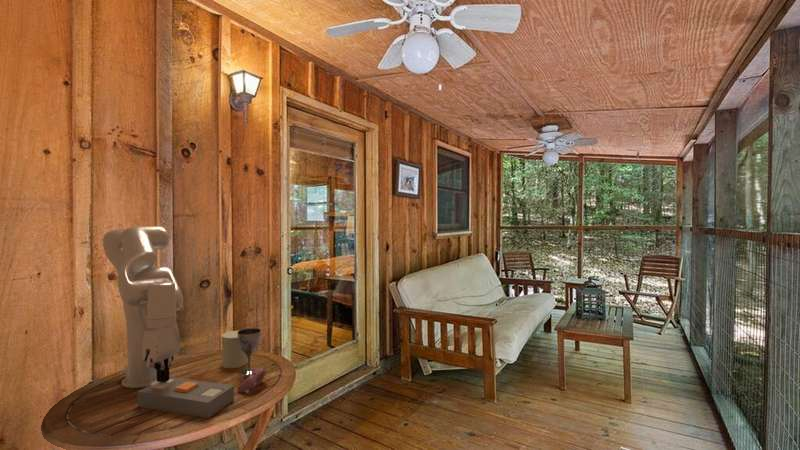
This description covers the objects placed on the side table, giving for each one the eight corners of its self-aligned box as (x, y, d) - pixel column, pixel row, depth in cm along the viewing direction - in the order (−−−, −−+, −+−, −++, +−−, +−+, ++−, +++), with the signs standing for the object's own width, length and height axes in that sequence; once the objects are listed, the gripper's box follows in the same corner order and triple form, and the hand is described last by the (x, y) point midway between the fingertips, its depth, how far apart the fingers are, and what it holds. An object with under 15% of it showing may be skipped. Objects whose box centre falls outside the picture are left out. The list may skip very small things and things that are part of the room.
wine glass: (237, 377, 135) (237, 335, 135) (237, 369, 143) (237, 329, 142) (261, 374, 139) (261, 333, 138) (260, 366, 146) (260, 326, 145)
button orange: (174, 397, 116) (174, 387, 116) (186, 390, 120) (186, 381, 120) (187, 399, 115) (187, 389, 114) (198, 392, 119) (198, 383, 119)
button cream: (150, 393, 118) (150, 384, 118) (162, 387, 122) (162, 378, 122) (162, 395, 117) (162, 385, 117) (174, 389, 121) (174, 379, 121)
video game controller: (246, 398, 124) (255, 380, 123) (235, 391, 124) (244, 373, 123) (263, 385, 133) (271, 368, 132) (252, 378, 134) (260, 361, 133)
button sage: (200, 404, 113) (200, 394, 113) (210, 397, 118) (210, 388, 118) (212, 406, 112) (212, 396, 112) (223, 399, 117) (223, 390, 117)
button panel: (137, 406, 115) (137, 391, 115) (168, 389, 126) (168, 376, 126) (208, 418, 109) (208, 402, 109) (234, 399, 120) (234, 385, 119)
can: (242, 368, 143) (242, 336, 143) (217, 368, 143) (217, 336, 143) (251, 359, 153) (251, 329, 152) (227, 359, 152) (227, 329, 152)
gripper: (171, 315, 127) (172, 370, 127) (129, 328, 112) (131, 390, 113) (190, 316, 125) (191, 372, 125) (150, 329, 110) (151, 393, 111)
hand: (163, 380), depth 119 cm, fingers closed
